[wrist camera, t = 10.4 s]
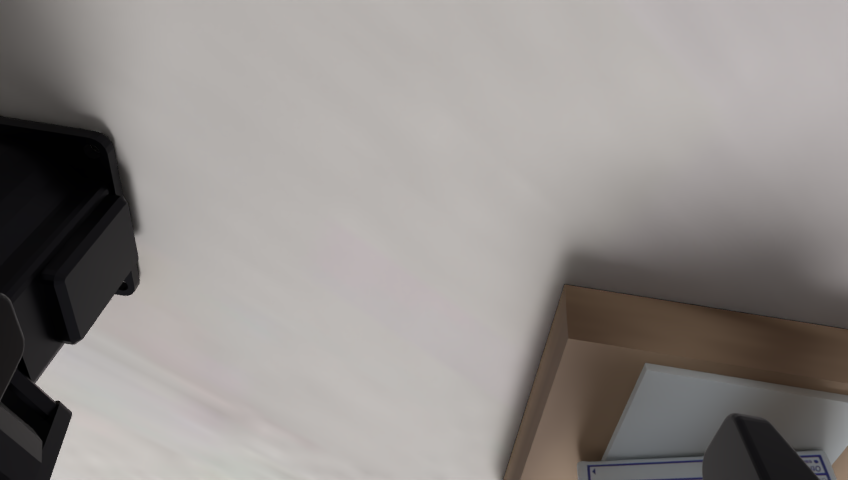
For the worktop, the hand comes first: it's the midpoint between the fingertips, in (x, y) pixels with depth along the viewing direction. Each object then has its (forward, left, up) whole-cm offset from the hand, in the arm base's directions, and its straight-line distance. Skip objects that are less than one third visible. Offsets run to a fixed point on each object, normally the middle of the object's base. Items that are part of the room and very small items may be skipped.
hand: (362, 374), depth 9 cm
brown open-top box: (+11, -14, -12) cm, 21 cm away
